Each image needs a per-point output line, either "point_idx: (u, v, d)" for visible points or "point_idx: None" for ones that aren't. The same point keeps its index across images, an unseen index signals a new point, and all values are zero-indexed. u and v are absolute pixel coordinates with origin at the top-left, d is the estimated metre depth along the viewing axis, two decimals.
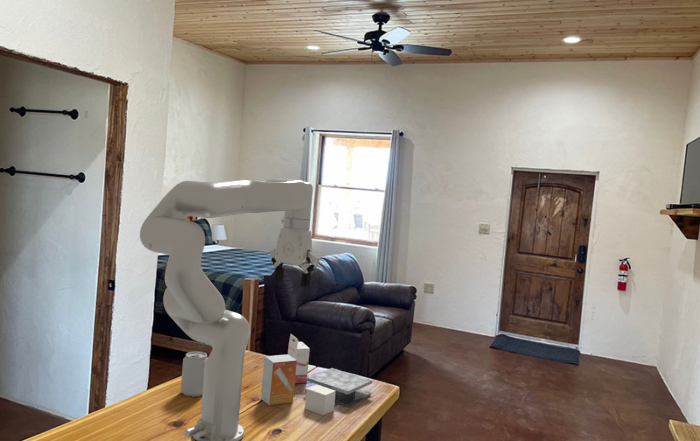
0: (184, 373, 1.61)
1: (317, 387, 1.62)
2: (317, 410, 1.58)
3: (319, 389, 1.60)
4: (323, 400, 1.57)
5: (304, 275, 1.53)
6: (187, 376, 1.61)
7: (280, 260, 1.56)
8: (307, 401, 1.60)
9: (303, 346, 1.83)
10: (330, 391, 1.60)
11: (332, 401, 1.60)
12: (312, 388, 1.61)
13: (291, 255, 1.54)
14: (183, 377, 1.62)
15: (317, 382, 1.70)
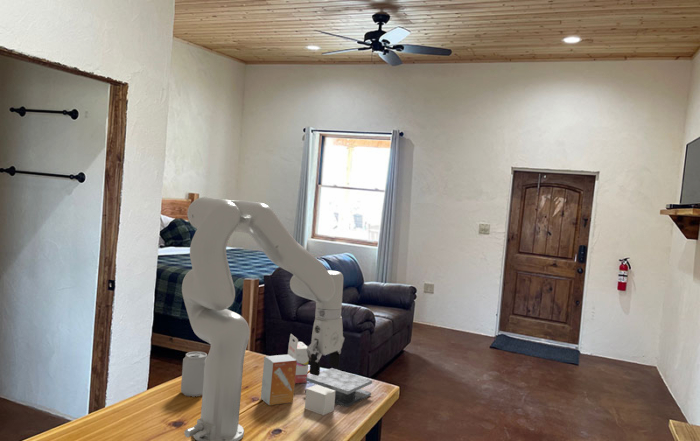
0: (184, 373, 1.61)
1: (317, 387, 1.62)
2: (317, 410, 1.58)
3: (319, 389, 1.60)
4: (323, 400, 1.57)
5: None
6: (187, 376, 1.61)
7: (328, 352, 1.57)
8: (307, 401, 1.60)
9: (303, 346, 1.83)
10: (330, 391, 1.60)
11: (332, 401, 1.60)
12: (312, 388, 1.61)
13: (336, 343, 1.60)
14: (183, 377, 1.62)
15: (317, 382, 1.70)
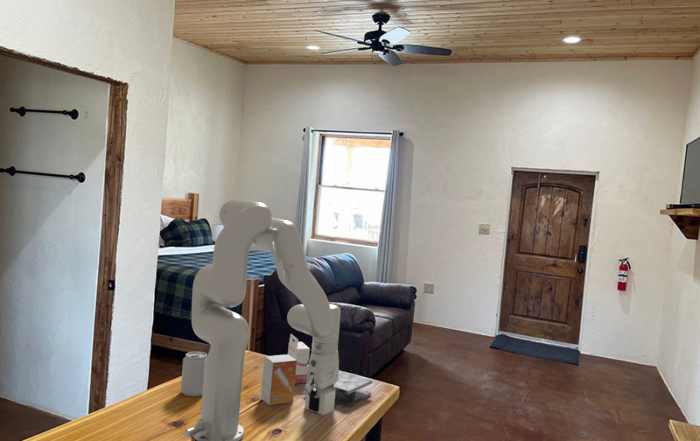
0: (184, 373, 1.61)
1: None
2: None
3: None
4: (323, 400, 1.57)
5: None
6: (187, 376, 1.61)
7: (323, 386, 1.57)
8: (307, 401, 1.60)
9: (303, 346, 1.83)
10: (330, 391, 1.60)
11: (332, 401, 1.60)
12: None
13: (332, 376, 1.60)
14: (183, 377, 1.62)
15: None
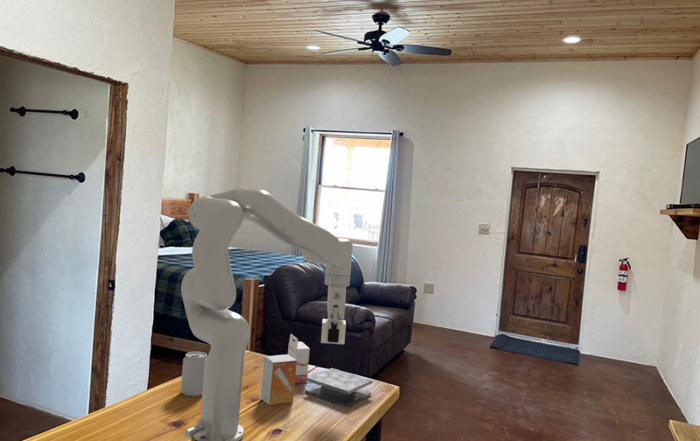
0: (184, 373, 1.61)
1: (328, 320, 1.65)
2: None
3: None
4: (343, 330, 1.62)
5: None
6: (187, 376, 1.61)
7: None
8: (324, 335, 1.62)
9: (303, 346, 1.83)
10: (343, 321, 1.65)
11: None
12: (326, 321, 1.63)
13: None
14: (183, 377, 1.62)
15: (317, 382, 1.70)
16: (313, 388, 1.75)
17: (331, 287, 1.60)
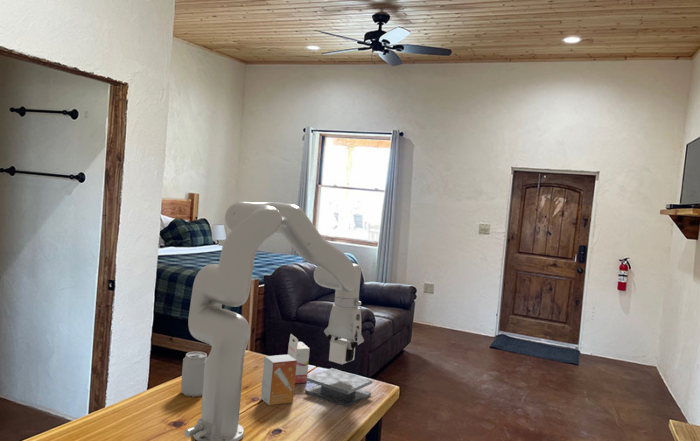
0: (184, 373, 1.61)
1: (338, 342, 1.72)
2: None
3: (344, 341, 1.73)
4: None
5: None
6: (187, 376, 1.61)
7: None
8: (343, 356, 1.70)
9: (303, 346, 1.83)
10: (345, 339, 1.76)
11: None
12: (342, 343, 1.71)
13: None
14: (183, 377, 1.62)
15: (317, 382, 1.70)
16: (313, 388, 1.75)
17: (353, 310, 1.69)
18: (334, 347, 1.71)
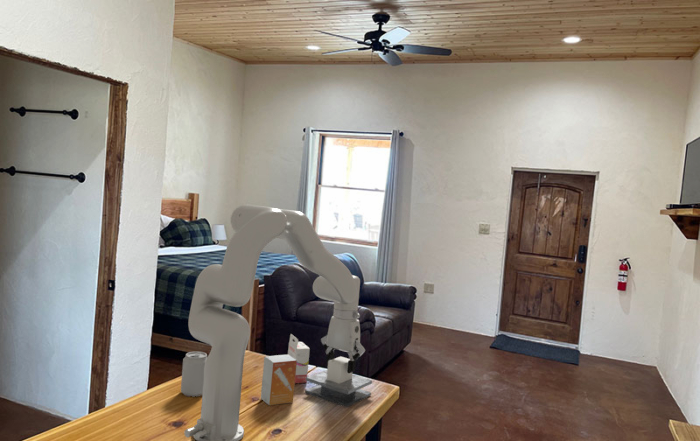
0: (184, 373, 1.61)
1: (336, 361, 1.73)
2: (347, 377, 1.74)
3: (341, 360, 1.73)
4: None
5: None
6: (187, 376, 1.61)
7: None
8: (341, 375, 1.70)
9: (303, 346, 1.83)
10: (343, 358, 1.77)
11: None
12: (339, 362, 1.71)
13: None
14: (183, 377, 1.62)
15: (317, 382, 1.70)
16: (313, 388, 1.75)
17: (352, 322, 1.70)
18: (332, 366, 1.71)
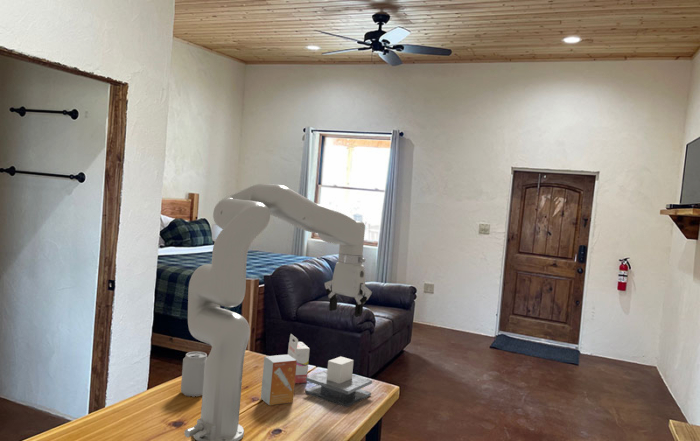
0: (184, 373, 1.61)
1: (336, 361, 1.73)
2: (347, 377, 1.74)
3: (341, 360, 1.73)
4: (351, 366, 1.75)
5: None
6: (187, 376, 1.61)
7: None
8: (341, 375, 1.70)
9: (303, 346, 1.83)
10: (343, 358, 1.77)
11: None
12: (339, 362, 1.71)
13: None
14: (183, 377, 1.62)
15: (317, 382, 1.70)
16: (313, 388, 1.75)
17: (357, 267, 1.69)
18: (332, 366, 1.71)
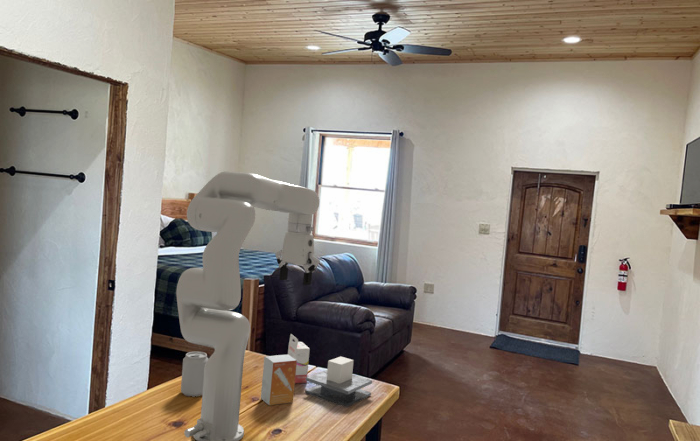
0: (184, 373, 1.61)
1: (336, 361, 1.73)
2: (347, 377, 1.74)
3: (341, 360, 1.73)
4: (351, 366, 1.75)
5: None
6: (187, 376, 1.61)
7: None
8: (341, 375, 1.70)
9: (303, 346, 1.83)
10: (343, 358, 1.77)
11: None
12: (339, 362, 1.71)
13: None
14: (183, 377, 1.62)
15: (317, 382, 1.70)
16: (313, 388, 1.75)
17: (305, 235, 1.70)
18: (332, 366, 1.71)
